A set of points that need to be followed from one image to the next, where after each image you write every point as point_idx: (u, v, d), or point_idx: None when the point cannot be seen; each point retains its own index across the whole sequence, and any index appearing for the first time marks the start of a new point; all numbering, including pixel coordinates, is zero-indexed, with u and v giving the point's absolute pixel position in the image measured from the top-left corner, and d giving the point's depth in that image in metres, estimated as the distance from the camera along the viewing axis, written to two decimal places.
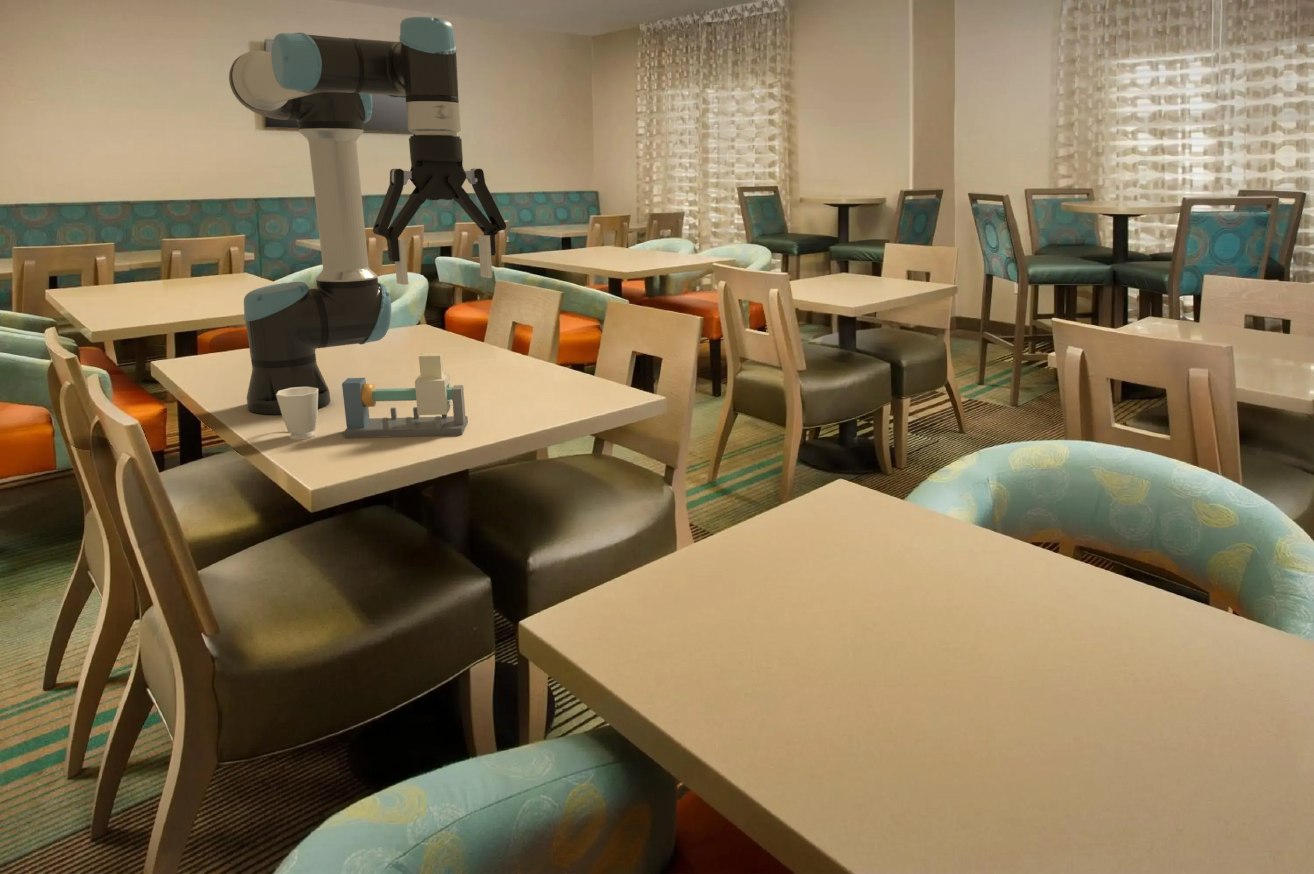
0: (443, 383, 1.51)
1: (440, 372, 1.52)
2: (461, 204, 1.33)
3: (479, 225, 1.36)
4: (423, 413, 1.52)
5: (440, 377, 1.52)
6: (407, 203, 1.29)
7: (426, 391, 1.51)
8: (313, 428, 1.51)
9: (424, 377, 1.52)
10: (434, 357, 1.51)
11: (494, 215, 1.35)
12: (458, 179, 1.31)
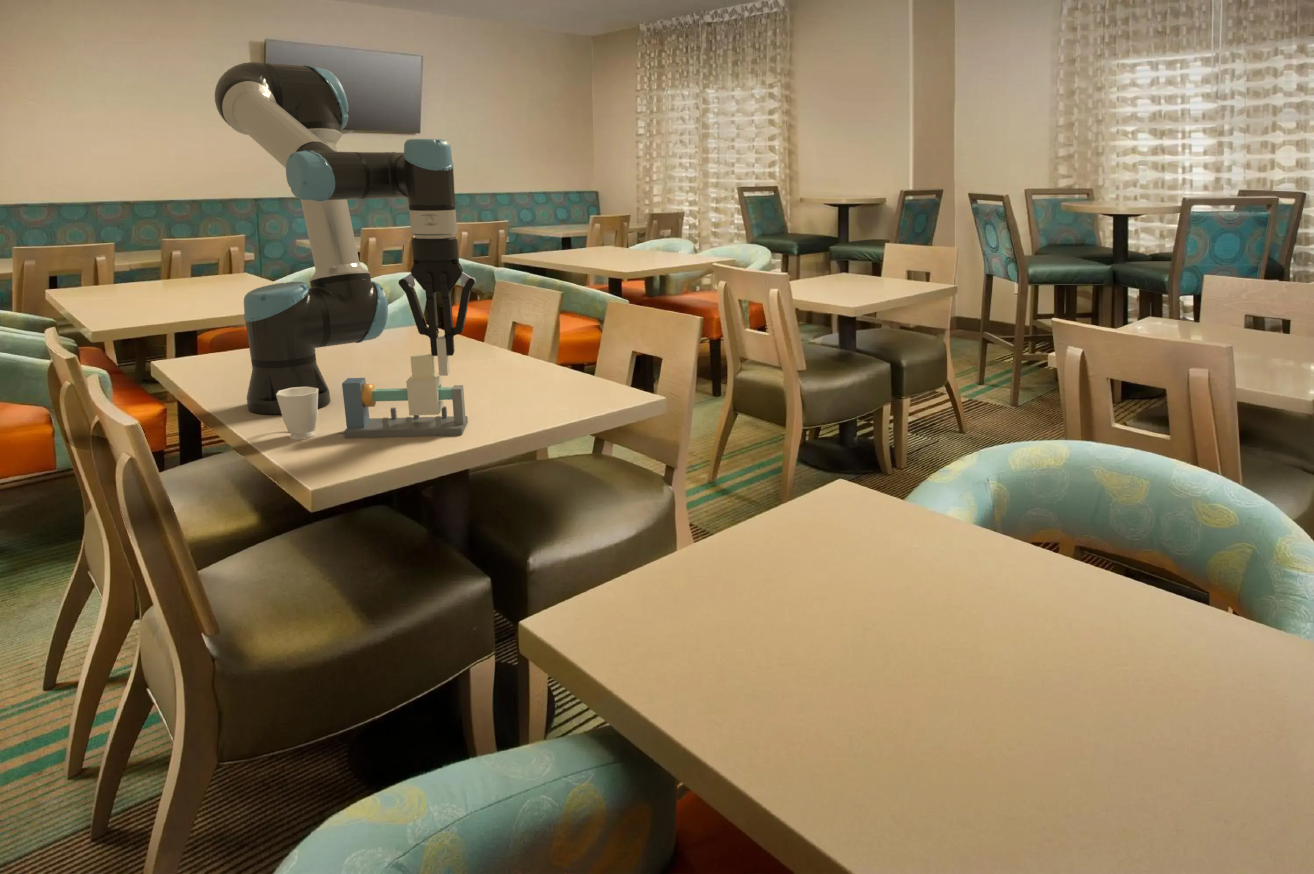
0: (435, 383, 1.51)
1: (432, 372, 1.52)
2: None
3: None
4: (415, 413, 1.52)
5: (432, 377, 1.52)
6: None
7: (418, 391, 1.51)
8: (313, 428, 1.51)
9: (416, 377, 1.52)
10: (426, 357, 1.51)
11: (458, 318, 1.50)
12: (450, 273, 1.47)
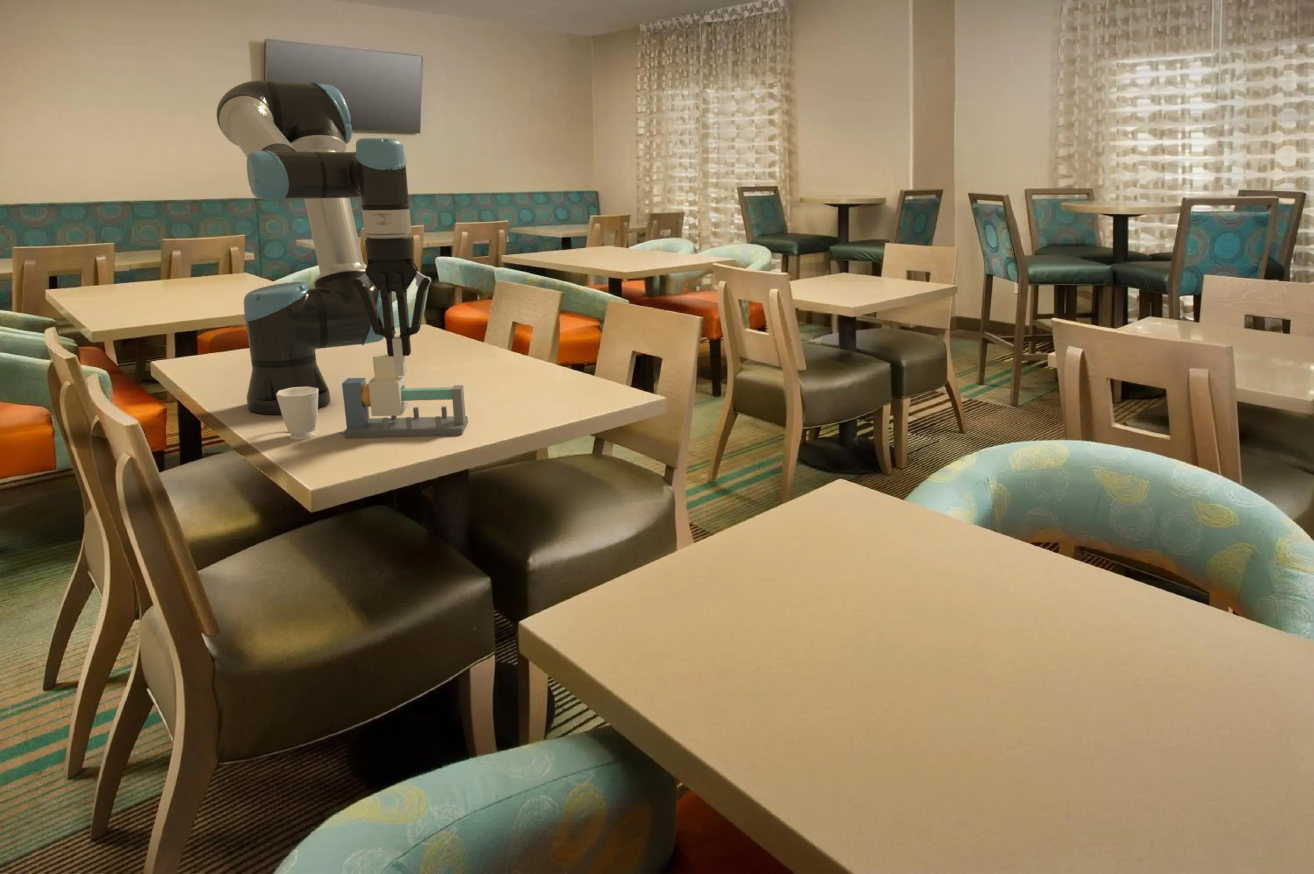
0: (397, 384, 1.50)
1: (394, 373, 1.51)
2: None
3: None
4: (377, 414, 1.51)
5: (394, 378, 1.52)
6: None
7: (380, 392, 1.50)
8: (313, 428, 1.51)
9: (378, 378, 1.51)
10: (388, 358, 1.51)
11: (413, 318, 1.49)
12: (405, 272, 1.47)
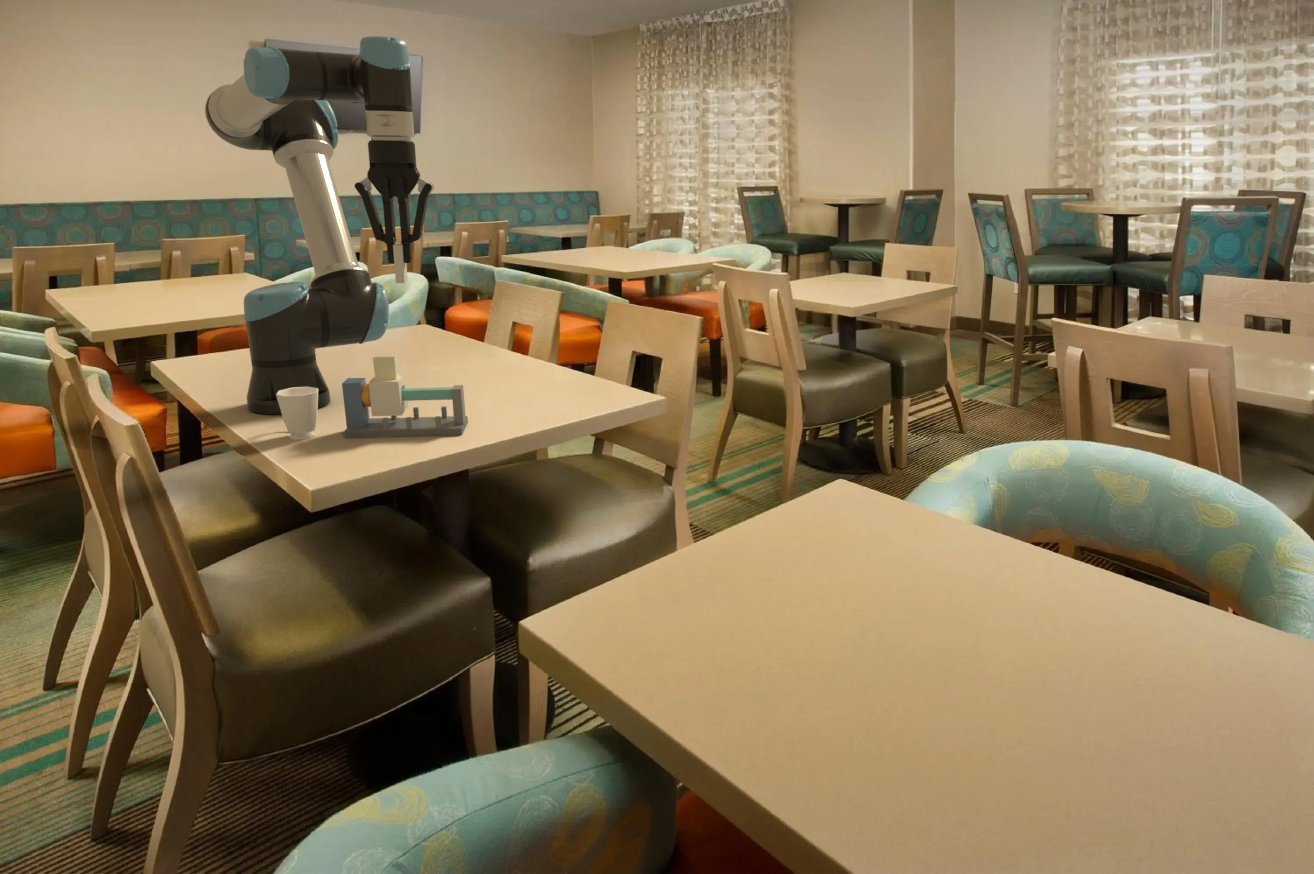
0: (397, 384, 1.50)
1: (394, 373, 1.51)
2: None
3: None
4: (377, 414, 1.51)
5: (395, 378, 1.52)
6: None
7: (380, 392, 1.50)
8: (313, 428, 1.51)
9: (378, 378, 1.51)
10: (388, 358, 1.51)
11: (415, 224, 1.49)
12: (407, 177, 1.46)
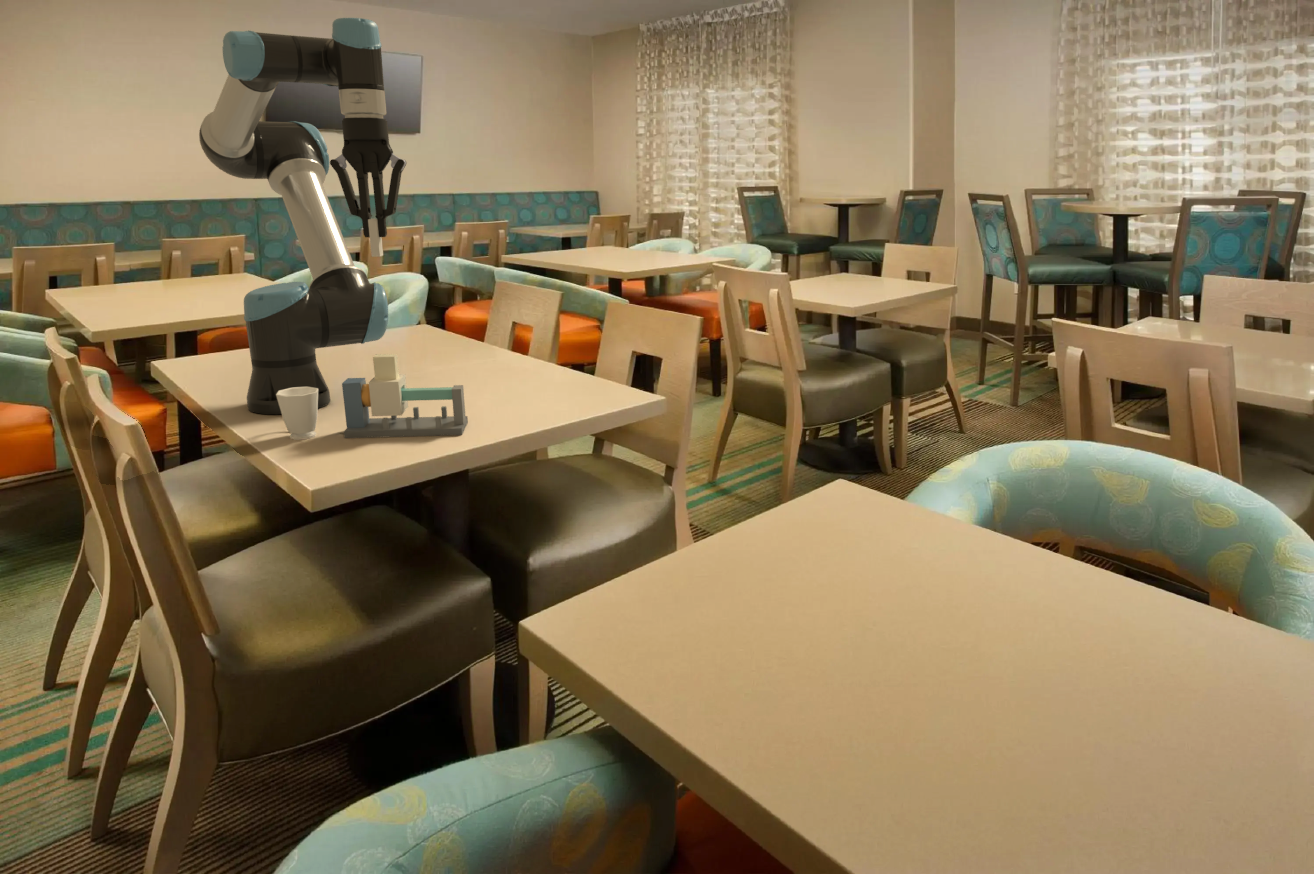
0: (397, 384, 1.50)
1: (394, 373, 1.51)
2: None
3: None
4: (377, 414, 1.51)
5: (395, 378, 1.52)
6: None
7: (380, 392, 1.50)
8: (313, 428, 1.51)
9: (378, 378, 1.51)
10: (388, 358, 1.51)
11: (388, 199, 1.54)
12: (380, 153, 1.52)
